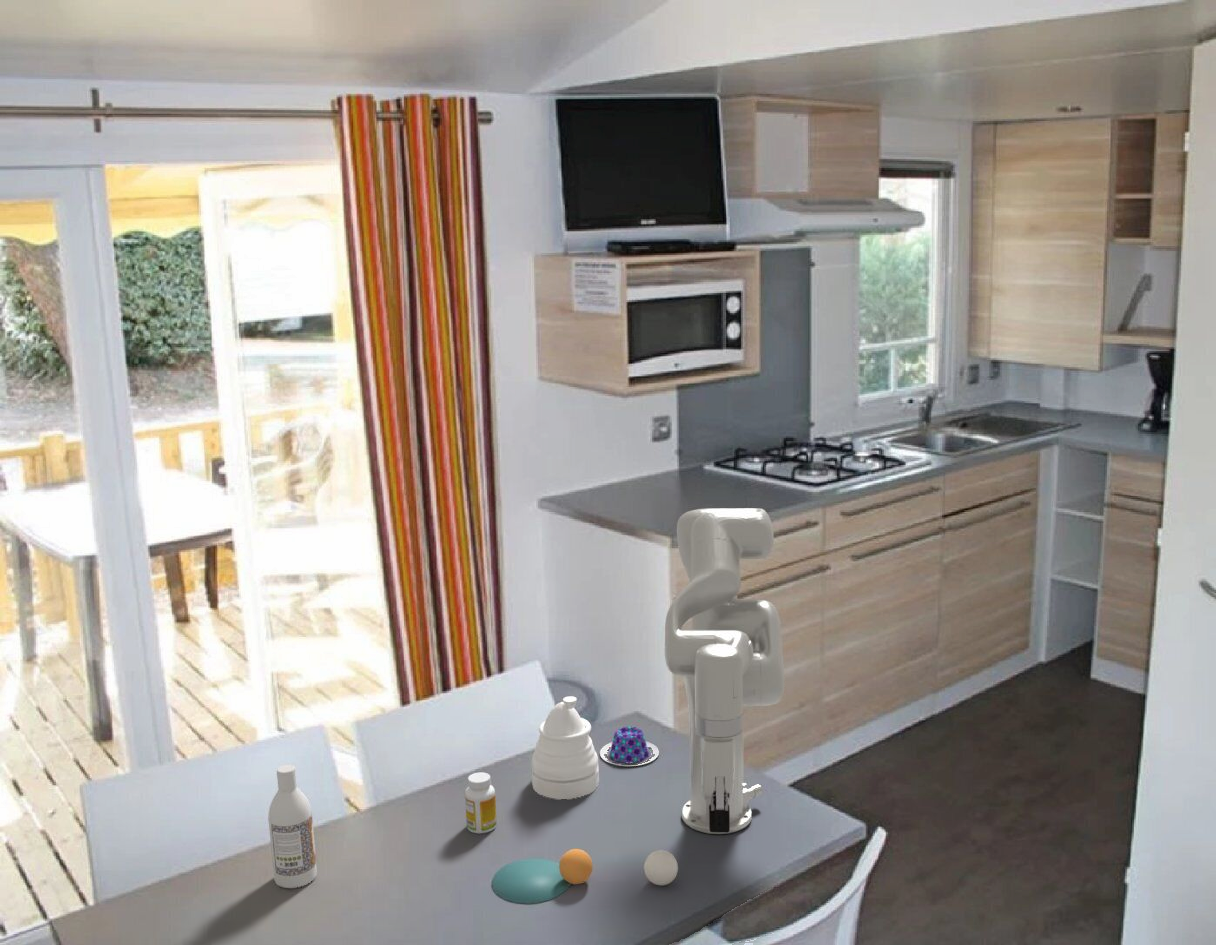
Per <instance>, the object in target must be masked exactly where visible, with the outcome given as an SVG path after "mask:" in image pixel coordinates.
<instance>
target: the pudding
mask: <svg viewBox="0 0 1216 945" xmlns="http://www.w3.org/2000/svg"><path fill="white" fill-rule="evenodd" d="M612 738H613V739H612V741H611V742H609V743H607V744H605V745H603V747H602V748H601V749H600V751H599V756H600V757H601V759H602V760H603V761H605V762H607V763H609V764H612V765H614V766H620V767H636V766H637V767H638V766H642V765H646V764H649V763H651V762H653V761H655V760H656V758H658V756H659V754H660V751H659V749H658V746H656V745H655V744H653V743H651V742H649V741H647V740H646V738H645V735H644V732H643V730H642V729H641V728H637V727H635V726H623V727H620V728H617V729H616V730H615V733H614V734H613V737H612ZM609 747H611V749H610V750H609V751H607V750H608V749H609ZM647 747H651V748H652V750H653V754H655V756H654V757H652V758H651V759H649V757H650V753H649V749H648V748H647ZM607 752H608V753H609V755H610V756H609V758H611V757H614V758H613V759H614V760H616V761H623V762H622V763H624V762H625V763H624V764H628V763H629V764H631V763H630V762H634V761H642V760H644V762H645V759H647V758H646V757H648V756H649V757H648V759H649V760H650V761H648V762H645V763H642V762H643V761H642V762H641V763H642V764H638V763H637V764H638V765H621V764H622V763H619V764H615V763H612V762H609V761H607V760H608V759H607V758H605V756H604V754H607V755H608V753H607ZM614 760H613V761H614ZM616 761H615V762H616ZM626 762H628V763H626ZM634 763H635V762H634Z"/></svg>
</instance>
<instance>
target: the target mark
mask: <svg viewBox="0 0 1216 945" xmlns="http://www.w3.org/2000/svg"><path fill="white" fill-rule="evenodd" d="M559 864H560V862H558V861H554V860H550V859H546V858H545V859H544V858H535V857H534V858H525V859H519V860H516V861H515V860H514V861H512V862H511V863H507V864H505V865H504V866H502V867H501V868H500V869H498V870H497V871H496V872H495V874H494V875H493V878H492V880H491V881H492V882H491V886H492V890H493V891H494V892H495V894H496V895H497V896H499V897H500V898H502V899H504V900H506V901H509V902H512V903H516V904H529V905H530V904H539V903H544V902H547V901H550V900H553V899H555V898H557V897H559V896H561V895H562V894H563V893H565V892H566V891H567V889H568V888H569V887H570V885H571V883H569V882H567V881H566V880H564V878H563V877H562V876H561V873H560V870H559Z"/></svg>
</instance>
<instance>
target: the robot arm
mask: <svg viewBox="0 0 1216 945" xmlns="http://www.w3.org/2000/svg"><path fill="white" fill-rule="evenodd" d="M774 536H775V535H774V526H773V523H772V520H771V518H770V516H769V514H768V513H767V511H766V510H765V509H763V508H759V507H758V508H756V507H755V508H753V507H750V508H749V507H748V508H747V507H745V508H743V507H742V508H737V507H736V508H732V507H731V508H725V507H724V508H719V507H718V508H715V507H714V508H710V507H709V508H698V509H693V510H689V511H686V512H685V513H683V514H682V515H681V516H680V517H679V518H678V520H677V523H676V539H677V547H678V552H679V556H680V560H681V562H682V565H683V567H684V569H685V573H686V574H687V577H688V580H689V583H688V584H687V585H686V586H684V588H683V589H682V590H680V591H679V593H677V595H676V596H675V598H674V599H673V600H672V602H671V604H670V605H669V609H668V610H667V613H666V616H665V624H664V625H665V626H664V658H665V659H664V660H665V661H664V662H665V664H666V667H667V669H668V670H669V672H671V674H673V675H675V676H679V677H683V679H684V681H683V682H684V686H685V692H686V699H687V707H688V720H689V721H688V723H689V797H690V799H689V800H688V801H687V802H686V803H685V804H684V805H683V807H682V809H681V818H682V820H683V822H684V824H686V825H687V826H688V827H690V829H692V830H695V831H698V832H700V833H705V834H711V835H712V834H713V835H724V834H726V835H727V834H732V833H736V832H739V831H741V830H743V829H744V828H746V827H747V826H748V825H750V823H751V822H752V818H753V816H752V815H753V812H752V808H751V807H750V805H748V802H750V801H751V799H752V798H756V797H758V796H760V795H762V794H763V788H762V786H761V785H760V784H754V785H752V786H750V787H749V788H748V785H747V783H746V782H744V721H743V720H744V719H743V718H744V714H743V712H744V710H743V709H744V707H749V706H751V707H756V706H758V707H763V706H764V707H766V706H767V707H768V706H773V705H776V704H778V703H779V702H780V701H782V699H783V696H784V693H785V667H784V655H783V654H784V653H783V641H782V628H781V620H780V619H781V618H780V615H779V612H778V609H777V607H776V606H775V605H774V604H773V603H772V602H770V601H768V600H765V599H749V598H747V599H740V598H738V593H739V592H740V590H741V583H742V579H741V578H742V577H741V562H740V560H742V559H743V560H756V559H757V560H761V559H762V560H764V559H767V558H769V556H770V555H772V552H773V548H774V542H775V541H774V540H775V537H774ZM690 619H691V629H682V628H683V626H684V625H685V623H687V621H689V620H690Z"/></svg>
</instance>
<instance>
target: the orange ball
mask: <svg viewBox="0 0 1216 945" xmlns="http://www.w3.org/2000/svg"><path fill="white" fill-rule="evenodd" d="M593 864H594V863H593V860H592V857H591V856H590V854H588V853H587V852H586V851H585V850H583V849H580V848H572V849H569V850H568V851H566V852H564V854H563V855H562V856H561V858H560V860H559V870H560V873H561V876H562V877H563V878H564V880H566V881H567V882H569V883H570V885H580V884H583V883H585V882H586V881H587V880H588V879H589V878H590V877H591V875H592V873H593V868H594V866H593Z"/></svg>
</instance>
